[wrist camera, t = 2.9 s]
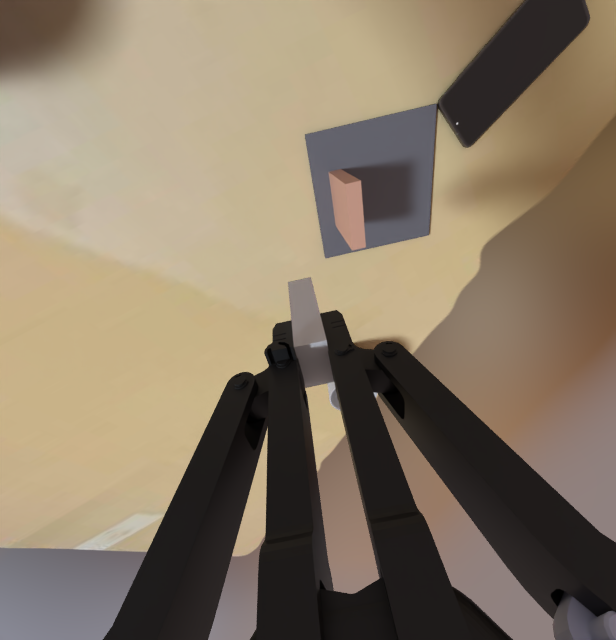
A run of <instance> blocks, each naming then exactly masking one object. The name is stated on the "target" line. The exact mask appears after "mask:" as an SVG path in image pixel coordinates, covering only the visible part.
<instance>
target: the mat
mask: <svg viewBox="0 0 616 640" xmlns="http://www.w3.org/2000/svg"><path fill="white" fill-rule="evenodd" d="M436 108H437V104H433V105H429V106H424V107H420V108H416V109H412V110H407V111H403V112H399V113H395V114H390V115H386V116H382V117H378V118H373V119H369V120H365V121H361V122H356V123H352V124H348V125H344V126H339V127H335V128H331V129H327V130H322V131H318V132H314V133H310V134H305V139H306V145H307V151H308V157H309V163H310V169H311V175H312V181H313V187H314V193H315V199H316V206H317V212H318V218H319V224H320V230H321V236H322V242H323V248H324V254H325V258H329V257H334V256H338V255H343V254H347V253H351V252H356V251H360V250H365V249H369V248H374V247H378V246H383V245H387V244H391V243H396V242H400V241H405V240H409V239H414V238H418V237H423V236H427V235H429V224H430V208H431V191H432V174H433V158H434V141H435V124H436ZM339 169H341V170H343V171H345V172H347V173H348V174H350V175H352V176H354V177H356V178H357V179H359V180H361V188H362V201H363V215H364V228H365V242H366V248H361V249H357V250H353V251H352V250H351V248H350V247H349V245H348V244H347V242H346V241H345V239H344V238H343V236H342V235H341V233H340V232H339V230H338V229H337V227H336V224H335V217H334V209H333V202H332V194H331V187H330V179H329V172H330V171H335V170H339Z"/></svg>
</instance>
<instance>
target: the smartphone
mask: <svg viewBox="0 0 616 640" xmlns="http://www.w3.org/2000/svg"><path fill="white" fill-rule="evenodd" d="M589 20H590V14H589V11H588V8H587V5H586V1H585V0H524V2H523V3H522V4H521V5H520V6H519V7H518V8H517V10H516V11H515V12H514V13H513V14H512V15H511V17H510V18H509V19H508V20H507V21H506V22H505V24H504V25H503V26H502V27H501V28H500V29H499V30H498V32H497V33H496V34H495V35H494V36H493V37H492V39H491V40H490V41H489V42H488V43H487V44H486V45H485V46H484V47H483V48H482V50H481V51H480V52H479V53H478V55H477V56H476V57H475V58H474V59H473V60H472V61H471V62H470V63H469V65H468V66H467V67H466V68H465V69H464V70H463V72H462V73H461V74H460V75H459V76H458V77H457V79H456V80H455V81H454V83H453V84H452V85H451V86H450V87H449V88H448V89H447V91H446V92H445V93H444V94H443V95H442V96H441V97H440V99H439V100H438V103H437V106H438V109H439V110H440V112H441V114H442V115H443V117H444V118H445V120H446V121H447V123H448V124H449V126H450V128H451V129H452V131H453V132H454V134H455V135H456V137H457V138H458V140H459V141H460V143H461V144H462V146H463V147H465V148H468V147H470V146H471V145H473V144H474V142H475V141H476V140H477V139H478V138H479V137H480V136H481V135H482V134H483V133H484V132H485V131H486V130H487V129H488V128H489V127H490V126H491V125H492V124H493V123H494V122H495V121H496V120H497V119H498V118H499V117H500V116H501V115H502V114H503V112H504V111H505V110H506V109H507V108H508V107H509V106H510V105H511V104H512V103H513V102H514V101H515V100H516V99H517V98H518V97H519V96H520V95H521V94H522V93H523V92H524V91H525V90H526V89H527V88H528V87H529V86H530V85H531V84H532V82H533V81H534V80H535V79H536V78H537V77H538V76H539V75H540V74H541V73H542V72H543V71H544V70H545V69H546V68H547V67H548V66H549V65H550V64H551V63H552V62H553V61H554V60H555V59H556V58H557V57H558V56H559V55H560V54H561V52H562V51H563V50H564V49H565V48H566V47H567V46H568V45H569V44H570V43H571V42H572V41H573V40H574V39H575V38H576V37H577V36H578V35H579V34H580V33H581V32H582V31H583V30H584V29H585V27H586V26H587V25H588V23H589Z"/></svg>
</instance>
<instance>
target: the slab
mask: <svg viewBox="0 0 616 640" xmlns="http://www.w3.org/2000/svg"><path fill="white" fill-rule="evenodd" d="M329 179H330V187H331V194H332V202H333V209H334V217H335V224H336V227H337V229H338V230H339V232H340V233H341V235H342V236H343V238H344V239H345V241H346V242H347V244H348V245H349V247H350V248H351V250H352V251H353V250H357V249H361V248H366V242H365V228H364V215H363V201H362V188H361V180H359V179H357V178H356V177H354V176H352V175H350V174H348V173H347V172H345V171H343V170H341V169H339V170H335V171H330V172H329Z"/></svg>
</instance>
